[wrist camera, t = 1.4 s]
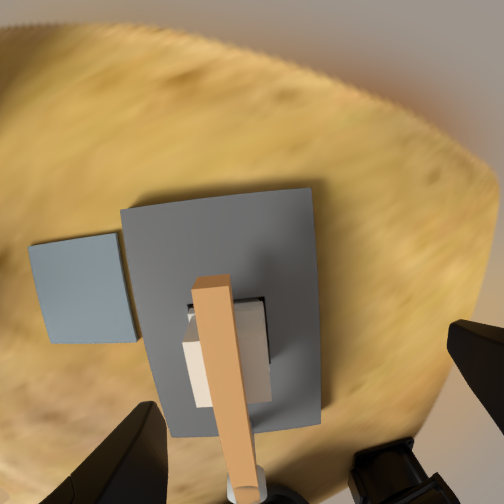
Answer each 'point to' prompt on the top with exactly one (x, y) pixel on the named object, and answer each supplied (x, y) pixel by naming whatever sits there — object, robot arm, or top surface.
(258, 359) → the plug
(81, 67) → the top surface
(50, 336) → the mat
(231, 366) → the tan wooden bar
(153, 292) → the socket block
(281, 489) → the muzzle brake
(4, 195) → the top surface
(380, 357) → the top surface
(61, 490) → the robot arm
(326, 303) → the top surface
